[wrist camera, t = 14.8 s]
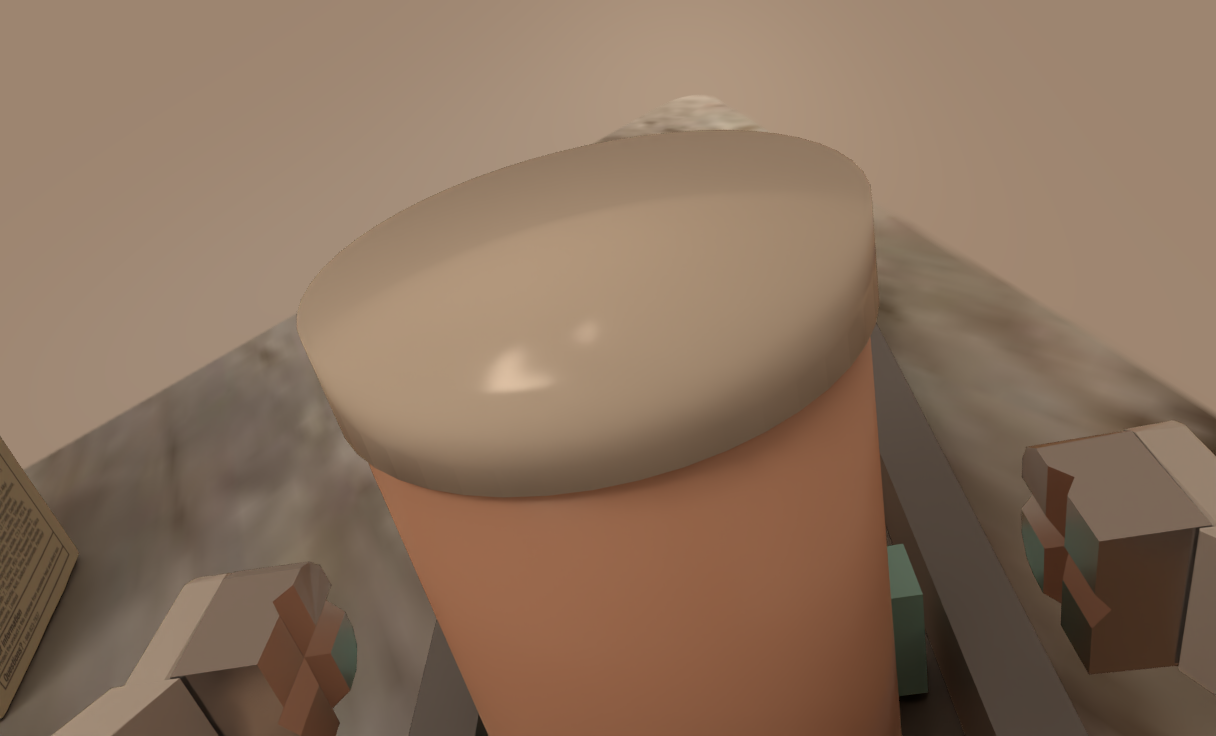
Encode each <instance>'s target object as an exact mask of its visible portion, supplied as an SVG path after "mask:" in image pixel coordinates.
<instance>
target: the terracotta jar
mask: <svg viewBox="0 0 1216 736" xmlns="http://www.w3.org/2000/svg"><path fill="white" fill-rule="evenodd" d="M878 310H879V291H878V277H877V263H876V249H875V234H874V220H873V206H872V195H871V186H870V184H869V182H868V180H867V178H866V176H865V174H864V172H863V171H862V170H861V169H860V168H859V167H858V166H857V165H856V164H855V163H854V162H853V161H852V160H851V159H849V158H848V157H846V156H845V155H843V154H841V153H840V152H838V151H836V150H834V149H832V148H829V147H827V146H824V145H822V144H820V143H816V142H813V141H809V140H806V139H802V138H799V137H792V136H787V135H782V134H776V133H767V132H757V131H738V130H702V131H685V132H670V133H661V134H652V135H644V136H637V137H630V138H624V139H617V140H611V141H606V142H601V143H596V144H591V145H586V146H581V147H577V148H573V149H569V150H564V151H560V152H556V153H552V154H548V155H545V156H541V157H538V158H534V159H530V160H527V161H524V162H520V163H517V164H514V165H511V166H508V167H504V168H501V169H499V170H496V171H493V172H490V173H487V174H484V175H482V176H479V177H476V178H473V179H471V180H468V181H466V182H463V183H461V184H458V185H456V186H453V187H451V188H449V189H446V190H444V191H442V192H440V193H437V194H435V195H433V196H431V197H428V198H426V199H424V200H422V201H420V202H418V203H416V204H414V205H412V206H411V207H408V208H406V209H405V210H403V211H401V212H399V213H397V214H395V215H394V216H392V217H390V218H389V219H387V220H385V221H383V222H382V223H380V224H378V225H376V226H375V227H373V228H372V229H371V230H369V231H368V232H366V233H365V234H363V235H362V236H360V237H359V238H357V239H356V240H354V241H353V242H352V243H351V244H350V245H348V246H347V247H346V248H344V249H343V250H342V251H341V252H339V253H338V254H337V255H336V256H335V257H334V258H333V259H332V260H331V261H330V262H329V263H328V264H327V265H326V266H324V267H323V268H322V270H321V271H320V272H319V274H318V275H317V276H316V277H315V278H314V280H313V281H312V282H311V283H310V285H309V286H308V288H307V290H306V292H305V294H304V295H303V297H302V299H301V302H300V305H299V309H298V312H297V331H298V334H299V336H300V339H301V342H302V344H303V346H304V349H305V351H306V353H307V355H308V357H309V360H310V362H311V364H312V366H313V369H314V371H315V373H316V375H317V377H318V380H319V382H320V384H321V386H322V389H323V391H324V393H325V395H326V397H327V400H328V402H329V404H330V406H331V409H332V411H333V413H334V415H335V417H336V420H337V422H338V424H339V426H340V429H341V431H342V433H343V435H344V437H345V439H346V440H347V442H348V443H349V444H350V445H351V447H352V448H353V449H354V451H355V452H356V453H357V454H358V455H359V456H360V457H362V458H363V459H364V460H366V461H367V462H368V463H369V466H370V468H371V470H372V473H373V475H374V477H375V479H376V482H377V484H378V486H379V488H380V491H381V493H382V495H383V498H384V500H385V502H386V504H387V507H388V509H389V511H390V513H391V516H392V518H393V520H394V522H395V525H396V527H397V529H398V532H399V534H400V536H401V538H402V541H403V543H404V545H405V547H406V550H407V552H408V554H409V556H410V559H411V561H412V563H413V566H414V568H415V570H416V572H417V575H418V577H419V579H420V581H421V584H422V586H423V588H424V591H425V593H426V595H427V597H428V600H429V602H430V604H431V606H432V609H433V611H434V613H435V615H436V618H437V620H438V622H439V625H440V627H441V629H442V631H443V634H444V636H445V638H446V640H447V643H448V645H449V647H450V649H451V652H452V654H453V656H454V659H455V661H456V663H457V665H458V668H459V670H460V672H461V674H462V677H463V679H464V681H465V683H466V686H467V688H468V690H469V693H470V695H471V697H472V699H473V702H474V704H475V706H476V708H477V711H478V713H479V715H480V718H481V720H482V722H483V724H484V727H485V729H486V731H487V733H488V736H902V732H901V719H900V706H899V694H898V681H897V668H896V655H895V643H894V630H893V617H892V604H891V592H890V579H889V566H888V553H887V541H886V528H885V515H884V502H883V490H882V477H881V464H880V452H879V439H878V426H877V413H876V401H875V388H874V375H873V362H872V350H871V337H870V336H871V334H872V331H873V329H874V327H875V325H876V320H877V315H878Z"/></svg>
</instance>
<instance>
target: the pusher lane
mask: <svg viewBox="0 0 1216 736" xmlns="http://www.w3.org/2000/svg"><path fill="white" fill-rule="evenodd" d="M870 337H871V350H872V362H873V375H874V388H875V401H876V413H877V426H878V439H879V452H880V464H881V477H882V490H883V502H884V515H885V524H886V527H887V530H888V532H889V535H890V537H891V540H892V543H893V545H897V544H903V545H904V547H905V550H906V552H907V555H908V557H909V560H910V563H911V565H912V568H913V570H914V573H915V575H916V578H917V580H918V583H919V586H920V588H921V591H922V593H923V606H924V624H925V630H926V633H927V636H928V638H929V641H930V644H931V646H932V649H933V652H934V654H935V657H936V660H937V662H938V665H939V668H940V670H941V673H942V676H943V678H944V681H945V684H946V686H947V689H948V692H949V694H950V697H951V699H952V702H953V705H954V707H955V710H956V713H957V715H958V718H959V721H960V723H961V726H962V729H963V731H964V734H965V736H1089V735H1088V733H1087V731H1086V729H1085V727H1084V725H1083V724H1082V722H1081V720H1080V718H1079V716H1078V714H1077V712H1076V710H1075V708H1074V706H1073V704H1072V702H1071V700H1070V698H1069V696H1068V694H1067V692H1066V690H1065V688H1064V687H1063V685H1062V683H1061V681H1060V679H1059V677H1058V675H1057V673H1056V671H1055V669H1054V667H1053V665H1052V663H1051V661H1050V659H1049V657H1048V655H1047V653H1046V652H1045V650H1044V648H1043V646H1042V644H1041V642H1040V640H1039V638H1038V636H1037V634H1036V632H1035V630H1034V628H1033V626H1032V624H1031V622H1030V620H1029V618H1028V616H1027V615H1026V613H1025V611H1024V609H1023V607H1022V605H1021V603H1020V601H1019V599H1018V597H1017V595H1016V593H1015V591H1014V589H1013V587H1012V585H1011V583H1010V581H1009V580H1008V578H1007V576H1006V574H1005V572H1004V570H1003V568H1002V566H1001V564H1000V562H999V560H998V558H997V556H996V554H995V552H994V550H993V548H992V546H991V544H990V543H989V541H988V539H987V537H986V535H985V533H984V531H983V529H982V527H981V525H980V523H979V521H978V519H977V517H976V515H975V513H974V511H973V509H972V508H971V506H970V504H969V502H968V500H967V498H966V496H965V494H964V492H963V490H962V488H961V486H960V484H959V482H958V480H957V478H956V476H955V474H954V472H953V471H952V469H951V467H950V465H949V463H948V461H947V459H946V457H945V455H944V453H943V451H942V449H941V447H940V445H939V443H938V441H937V439H936V437H935V436H934V434H933V432H932V430H931V428H930V426H929V424H928V422H927V420H926V418H925V416H924V414H923V412H922V410H921V408H920V406H919V404H918V402H917V400H916V399H915V397H914V395H913V393H912V391H911V389H910V387H909V385H908V383H907V381H906V379H905V377H904V375H903V373H902V371H901V369H900V367H899V365H898V364H897V362H896V360H895V358H894V356H893V354H892V352H891V350H890V348H889V346H888V344H887V342H886V340H885V338H884V336H883V334H882V332H881V330H880V328H879V327H878V325H877V323H876V325H875V327H874V329H873V331H872V334H871V336H870ZM409 736H488V733H487V731H486V729H485V727H484V724H483V722H482V720H481V718H480V715H479V713H478V711H477V708H476V706H475V704H474V702H473V699H472V697H471V695H470V693H469V690H468V688H467V686H466V683H465V681H464V679H463V677H462V674H461V672H460V670H459V668H458V665H457V663H456V661H455V659H454V656H453V654H452V652H451V649H450V647H449V645H448V643H447V640H446V638H445V636H444V634H443V631H442V629H441V627H440V625H439V622H438V620H436V624H435V628H434V632H433V636H432V641H431V645H430V649H429V653H428V657H427V661H426V665H425V670H424V674H423V678H422V682H421V686H420V690H419V694H418V698H417V703H416V707H415V711H414V715H413V719H412V723H411V727H410V732H409Z"/></svg>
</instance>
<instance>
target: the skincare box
mask: <svg viewBox="0 0 1216 736" xmlns="http://www.w3.org/2000/svg"><path fill="white" fill-rule="evenodd" d="M78 554H79V553H78V550H77V548H76V547H75V545H74V544H73V542H72V541H71V539H70V538H69V536H68V535H67V534H66V532H65V531H64V529H63V528H62V526H61V525H60V523H59V522H58V520H57V519H56V517H55V516H54V514H53V513H52V512H51V510H50V509H49V507H48V506H47V504H46V503H45V501H44V500H43V498H42V497H41V495H40V494H39V492H38V491H37V490H36V488H35V487H34V485H33V484H32V482H31V481H30V479H29V478H28V476H27V475H26V473H25V472H24V471H23V469H22V468H21V466H20V465H19V464H18V462H17V461H16V459H15V458H14V456H13V454H12V453H11V451H10V450H9V449H8V447H7V446H6V444H5V443H4V441H3V440H2V438H1V437H0V719H1V718H3V716H4V715H5V713H6V712H7V709H8V707H9V705H10V703H11V701H12V699H13V697H14V695H15V693H16V691H17V689H18V687H19V685H20V683H21V681H22V678H23V676H24V674H25V672H26V670H27V668H28V666H29V664H30V662H31V660H32V658H33V656H34V654H35V651H36V649H37V647H38V645H39V643H40V640H41V638H42V636H43V634H44V632H45V629H46V627H47V625H48V623H49V621H50V618H51V616H52V614H53V612H54V610H55V608H56V606H57V604H58V602H59V600H60V597H61V595H62V593H63V592H64V589H65V587H66V584H67V581H68V579H69V576H70V574H71V571H72V569H73V567H74V564H75V562H76V560H77V557H78Z"/></svg>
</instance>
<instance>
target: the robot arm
mask: <svg viewBox="0 0 1216 736" xmlns="http://www.w3.org/2000/svg"><path fill="white" fill-rule="evenodd" d="M1022 478H1023V480H1024V481H1025V483H1026V485H1027V486H1028V488H1029V490H1030V491H1031V493H1032V494H1033V495H1032V496H1031V498H1030V499H1029V500H1028V501H1027V502H1026V504H1025V505H1024V506H1023V507H1022V508H1021V521H1022V536H1023V541H1024V546H1025V551H1026V556H1027V559H1028V562H1029V564H1030V567H1031V569H1032V572H1033V574H1034V577H1035V578H1036V580H1037V582H1038V584H1039V586H1040V588H1041V590H1042V592H1043V593H1044V594H1046V595H1048V596H1049V597H1051V598H1053V599H1055V600H1056V601H1058V602H1060V603H1062V606H1061V626H1062V628H1063V630H1064V631H1065V633H1066V635H1067V637H1068V638H1069V640H1070V642H1071V644H1072V645H1073V647H1074V649H1075V651H1076V653H1077V654H1078V656H1079V658H1080V660H1081V661H1082V663H1083V665H1084V667H1085V668H1086V670H1087V672H1088V674H1089V675H1092V674H1102V673H1111V672H1121V671H1131V670H1141V669H1150V668H1160V667H1170V666H1179V667H1178V670H1179V671H1181V672H1182V673H1184V674H1185V675H1187V676H1188V677H1189V678H1191V679H1192V680H1194V681H1195V682H1197V683H1198V684H1200V685H1201V686H1203V687H1204V688H1205V689H1207V690H1208V691H1210V692H1211V693H1213V694H1214V695H1216V456H1215V455H1214V454H1213V453H1212V452H1211V451H1210V450H1209V449H1208V448H1207V447H1206V446H1205V445H1204V444H1203V443H1202V442H1201V441H1200V440H1199V439H1198V438H1197V437H1196V436H1195V435H1194V434H1193V433H1192V432H1191V431H1190V430H1189V428H1188V427H1187V426H1186V425H1185V424H1182V423H1180V422H1177V421H1175V420H1172V421H1167V422H1161V423H1156V424H1150V425H1145V426H1140V427H1134V428H1129V429H1124V430H1123V431H1120V432H1113V433H1107V434H1101V435H1095V436H1089V437H1083V438H1077V439H1071V440H1064V441H1058V442H1052V443H1046V444H1040V445H1034V446H1028V447H1026V449H1025V452H1024V455H1023V458H1022ZM330 588H331V583H330V581H329V580H328V578H327V576H326V574H325V573H324V571H323V569H322V567H321V566H320V565H319V564H315V563H312V562H303V563H296V564H288V565H281V566H274V567H266V568H259V569H252V570H244V571H237V572H233V573H227V574H220V575H213V576H206V577H199V578H195V579H194V580H192V581H190V582H189V583H187V584H185V585H184V587H183V588H182V590H181V592H180V593H179V595H178V597H177V598H176V600H175V602H174V603H173V605H172V607H171V608H170V610H169V612H168V613H167V615H166V617H165V618H164V620H163V622H162V623H161V625H160V627H159V628H158V630H157V632H156V633H155V635H154V637H153V638H152V640H151V642H150V644H149V645H148V647H147V649H146V650H145V652H144V654H143V655H142V657H141V659H140V660H139V662H138V664H137V665H136V667H135V669H134V670H133V672H132V674H131V675H130V677H129V679H128V680H127V682H126V684H125V685H124V686H121V687H115V688H111V689H110V690H108V691H107V692H106V693H105V694H103V695H102V696H101V697H100V698H98V699H97V700H96V701H95V702H93V703H92V704H91V705H89V706H88V707H87V708H86V709H84V710H83V711H82V712H81V713H79V714H78V715H77V716H76V717H74V718H73V719H72V720H70V721H69V722H68V723H67V724H65V725H64V726H63V727H62V728H60V729H59V730H58V731H56V732H55V733H54V734H53V735H51V736H336V733H337V730H338V727H339V724H340V722H339V720H338V718H337V716H336V714H335V712H334V710H333V707H334V706H335V705H336V704H337V703H338V702H339V701H340V700H341V699H342V698H343V697H344V696H345V695H346V694H347V693H348V692H349V691H350V689H351V686H352V683H353V679H354V676H355V673H356V664H357V643H356V639H355V635H354V631H353V627H352V625H351V622H350V620H349V618H348V616H347V614H346V612H345V611H343V610H342V609H340V608H338V607H337V606H335V605H333V604H332V603H330V602H329V601H327V600H326V599H327V596H328V594H329V591H330Z"/></svg>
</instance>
